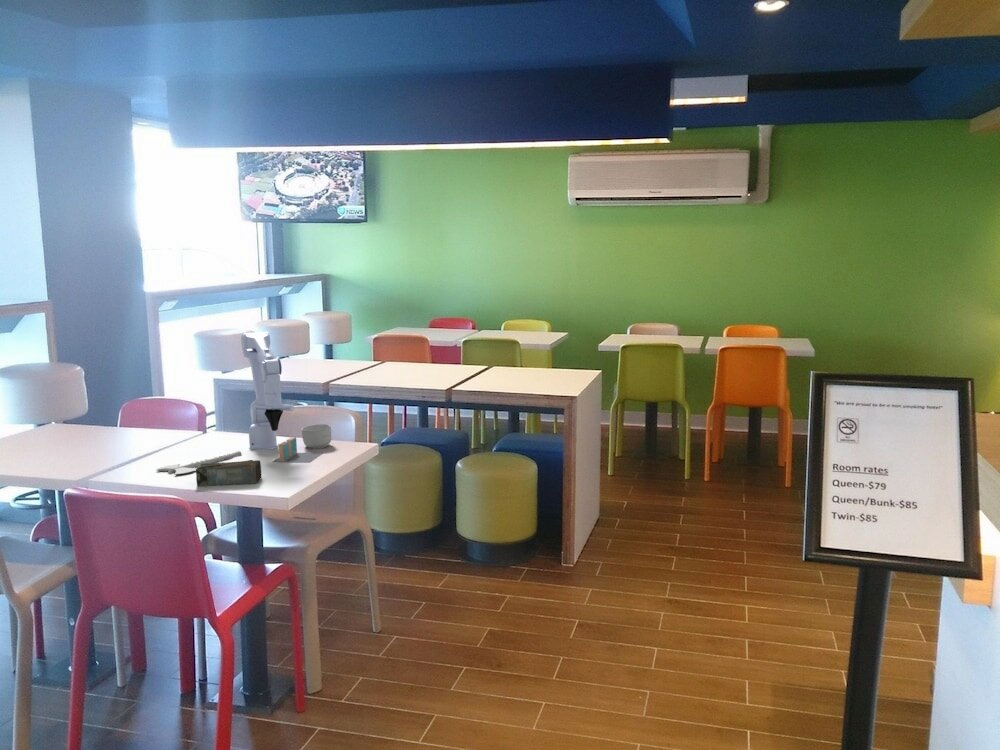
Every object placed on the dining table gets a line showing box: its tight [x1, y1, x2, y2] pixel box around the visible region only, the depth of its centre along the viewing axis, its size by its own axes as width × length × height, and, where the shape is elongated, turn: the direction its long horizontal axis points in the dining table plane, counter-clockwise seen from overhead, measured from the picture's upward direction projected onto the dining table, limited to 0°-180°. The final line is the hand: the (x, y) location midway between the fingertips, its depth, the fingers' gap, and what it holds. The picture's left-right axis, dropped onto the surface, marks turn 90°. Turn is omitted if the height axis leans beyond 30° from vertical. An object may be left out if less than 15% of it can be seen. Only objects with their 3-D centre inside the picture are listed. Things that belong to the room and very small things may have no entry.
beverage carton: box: [195, 459, 262, 487], centre depth 272 cm, size 8×19×7 cm, turn 97°
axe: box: [155, 450, 242, 476], centre depth 295 cm, size 30×14×2 cm, turn 144°
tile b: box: [278, 440, 289, 463], centre depth 298 cm, size 2×5×6 cm, turn 172°
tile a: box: [286, 436, 298, 457], centre depth 305 cm, size 2×5×6 cm, turn 172°
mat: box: [271, 452, 324, 464], centre depth 301 cm, size 14×14×1 cm
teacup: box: [300, 423, 332, 449], centre depth 319 cm, size 14×11×8 cm
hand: (274, 430), depth 305 cm, fingers closed
